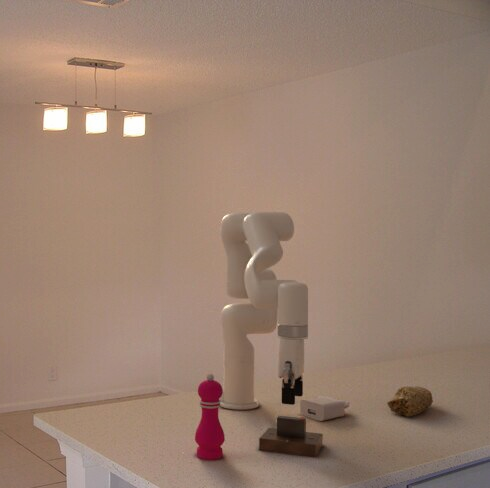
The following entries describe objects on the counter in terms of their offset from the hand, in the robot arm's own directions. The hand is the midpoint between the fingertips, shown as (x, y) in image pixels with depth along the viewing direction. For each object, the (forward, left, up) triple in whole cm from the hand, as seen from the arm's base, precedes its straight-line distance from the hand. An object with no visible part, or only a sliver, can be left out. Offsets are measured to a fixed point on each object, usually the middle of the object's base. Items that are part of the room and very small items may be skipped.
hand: (292, 399), depth 182 cm
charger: (+4, +36, -13) cm, 39 cm away
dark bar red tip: (0, 0, -9) cm, 9 cm away
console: (0, 0, -12) cm, 12 cm away
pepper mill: (-17, -14, -12) cm, 25 cm away
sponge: (+26, +51, -12) cm, 59 cm away
